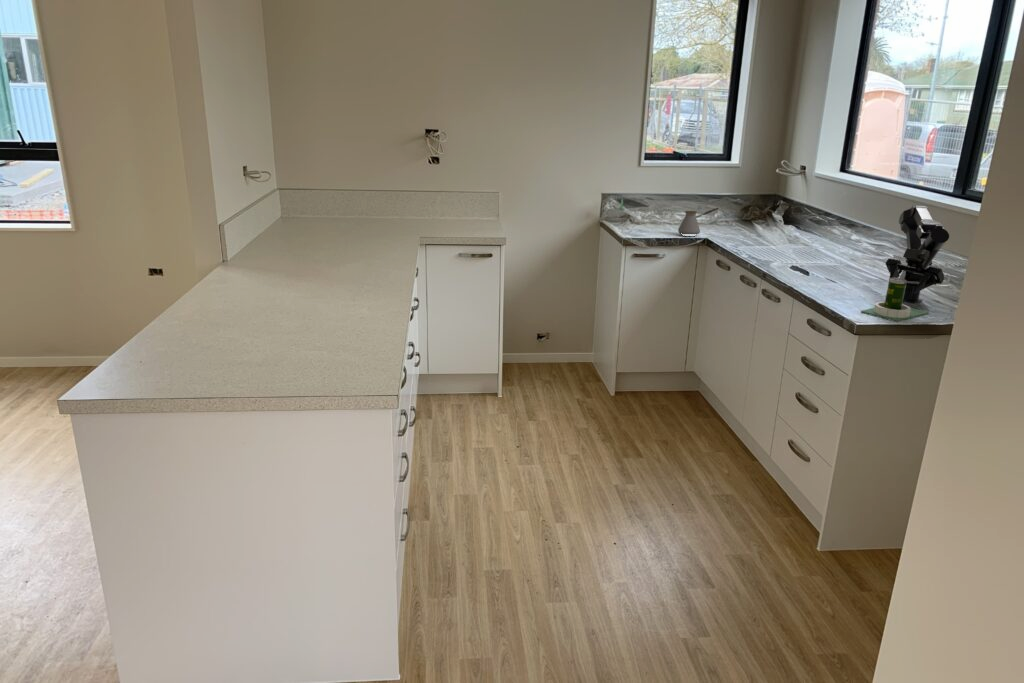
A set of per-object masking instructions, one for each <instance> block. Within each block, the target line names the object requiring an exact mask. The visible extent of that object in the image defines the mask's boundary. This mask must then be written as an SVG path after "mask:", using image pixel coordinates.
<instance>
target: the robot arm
mask: <svg viewBox="0 0 1024 683" xmlns="http://www.w3.org/2000/svg"><path fill="white" fill-rule="evenodd" d="M898 224H899V225H900V230H901V231H902V232H903V233H904V234H905V236H906V249H905V252H904V254H903V255H902V257H903V258H905V263H906V264H902V261H901V259H897V258H892V257H890V258H888V259H887V260H886V261H885V266H886V268H887V271H888V272H889V278H888V283H889V280H890V278H893V277H895V278H903V279H906V288H905V293H904V298H903V302H907V303H911V304H915V303H920V302H923V299H921V298H920V294H921V291H922V290H924V289H927V288H929V287H931V286H933V285H934V286H936V285H937V284H939V285H941V284H943V282H944V281H945V275H944V272H943V270H942V268H941V267H937V266H936V267H935V266H932V265H933V260H934V258H935V257H936V256H937V255H938V253H939V251H940V250H941V249H942V248H943V247H944V245H945V244H946V243H947V242H948V241H949V239H950V234H949V232H948V231H947V230H946V229H945V228H944V226H943V225H942V223H940V222H939V221H938V220H934V219H933V218H932V216H931V213H930V212H929V207H928V206H926V205H913V206H911V207H910V208H908V209H906V210H904V211H902V213H901V214H900V215H899V219H898ZM922 240H923V242H922ZM888 283H887V284H888Z"/></svg>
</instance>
